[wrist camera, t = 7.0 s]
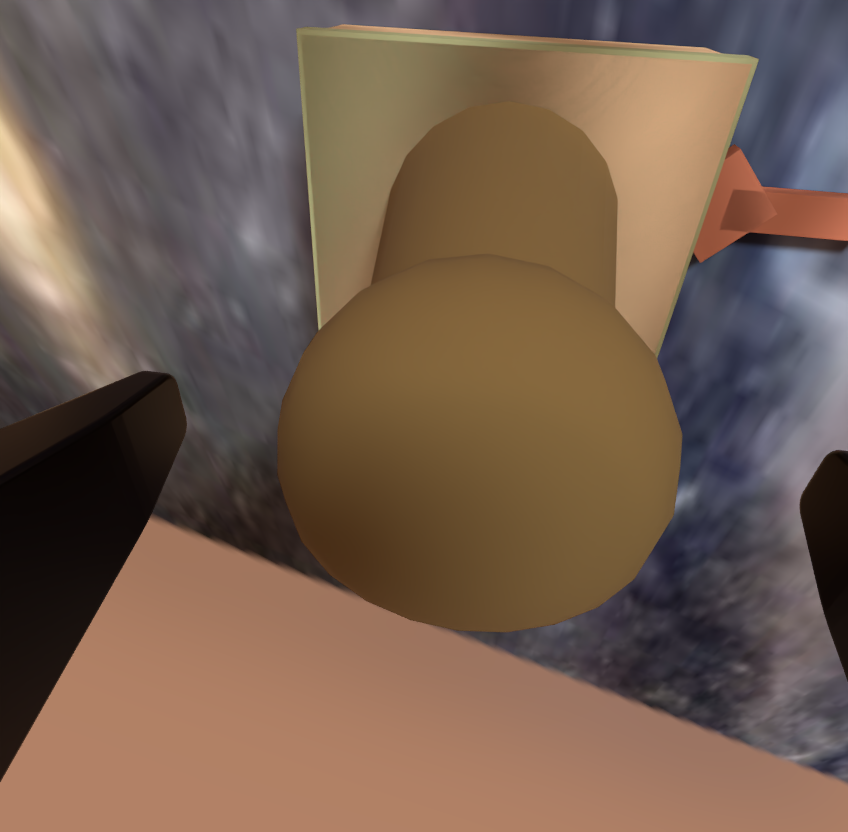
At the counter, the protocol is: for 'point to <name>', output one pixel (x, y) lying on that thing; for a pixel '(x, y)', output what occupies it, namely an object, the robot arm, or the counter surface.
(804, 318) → the counter surface
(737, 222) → the tan piece
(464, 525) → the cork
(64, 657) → the robot arm
